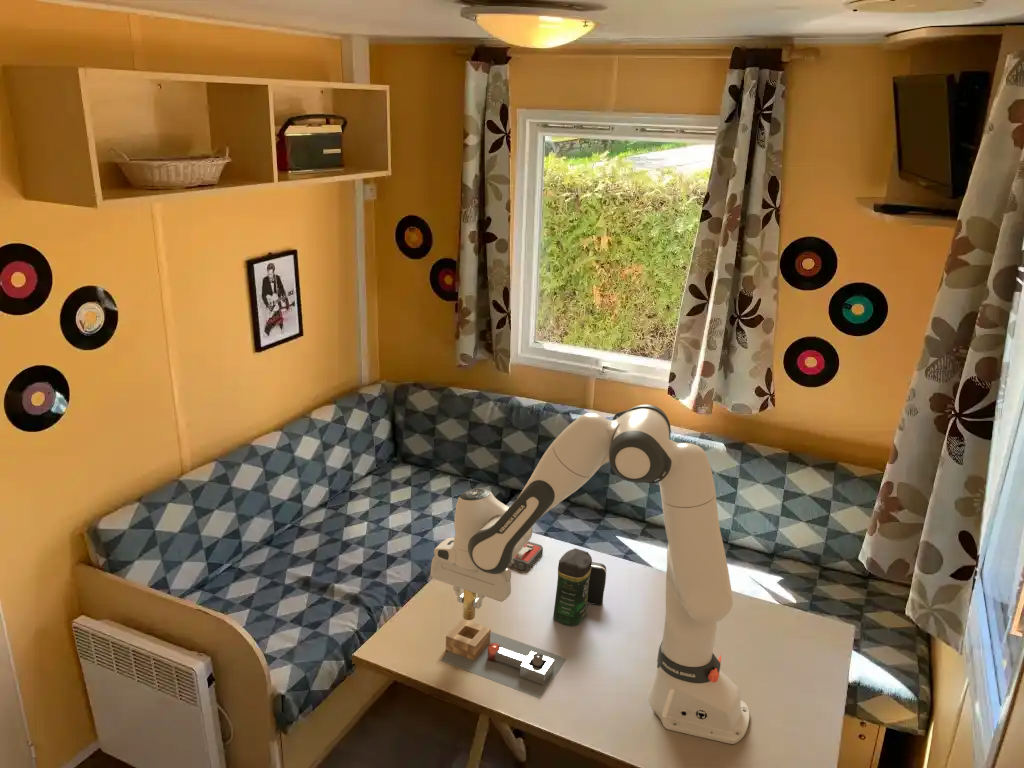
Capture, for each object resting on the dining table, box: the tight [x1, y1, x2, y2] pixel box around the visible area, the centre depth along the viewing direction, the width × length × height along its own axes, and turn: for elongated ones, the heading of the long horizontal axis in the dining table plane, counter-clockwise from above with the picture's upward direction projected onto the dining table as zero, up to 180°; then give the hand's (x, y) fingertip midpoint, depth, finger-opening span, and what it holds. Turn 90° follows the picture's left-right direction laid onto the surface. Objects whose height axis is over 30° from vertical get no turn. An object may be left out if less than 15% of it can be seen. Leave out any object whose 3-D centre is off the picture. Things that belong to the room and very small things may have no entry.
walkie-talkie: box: [508, 540, 544, 572], centre depth 231 cm, size 9×4×20 cm
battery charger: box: [587, 561, 607, 606], centre depth 214 cm, size 7×4×11 cm, turn 79°
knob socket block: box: [488, 643, 554, 685], centre depth 186 cm, size 16×6×3 cm, turn 64°
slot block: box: [445, 618, 492, 661], centre depth 193 cm, size 8×8×4 cm
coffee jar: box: [553, 548, 593, 627], centre depth 205 cm, size 10×8×19 cm
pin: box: [462, 589, 477, 621], centre depth 189 cm, size 3×3×9 cm
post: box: [532, 653, 543, 669], centre depth 184 cm, size 2×2×5 cm
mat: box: [440, 631, 568, 699], centre depth 189 cm, size 26×16×1 cm, turn 64°
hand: (469, 604), depth 189 cm, fingers closed on pin, 3 cm apart
